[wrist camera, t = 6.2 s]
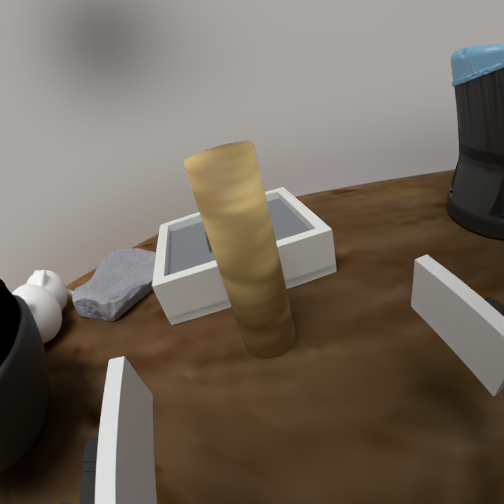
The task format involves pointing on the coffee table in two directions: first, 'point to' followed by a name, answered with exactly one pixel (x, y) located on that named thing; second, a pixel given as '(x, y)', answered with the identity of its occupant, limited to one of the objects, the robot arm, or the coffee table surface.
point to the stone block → (116, 284)
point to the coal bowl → (20, 378)
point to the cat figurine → (45, 301)
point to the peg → (244, 244)
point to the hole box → (205, 267)
